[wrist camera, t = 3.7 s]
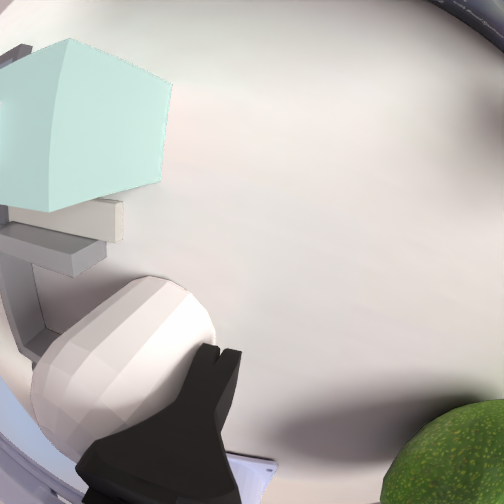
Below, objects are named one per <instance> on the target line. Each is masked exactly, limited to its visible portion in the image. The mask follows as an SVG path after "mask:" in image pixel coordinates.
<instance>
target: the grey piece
mask: <svg viewBox="0 0 504 504" xmlns="http://www.w3.org/2000/svg"><path fill="white" fill-rule="evenodd" d="M8 212H9V222H8V223H5V224H3V225H0V294H1V298H2V302H3V305H4V309H5V312H6V315H7V319H8V322H9V325H10V328H11V331H12V334H13V336H14V339H15V342H16V345H17V347H18V350H19V352H20V353H21V354H23V355H24V356H26V357H27V358H29V359H30V360H32V361H33V362H35V363H38V362H39V360H40V359H41V358H42V356H43V355H44V353H45V352H46V351H47V349H48V348H49V347H50V345H51V344H52V343H53V341H55V340H56V339H57V338H58V337H60V336H61V335H59V334H57V333H55V332H53V331H51V330H49V329H47V328H45V324H44V320H43V317H42V313H41V309H40V304H39V300H38V296H37V291H36V286H35V281H34V276H33V270H32V264H35V265H38V266H40V267H43V268H46V269H49V270H52V271H55V272H58V273H61V274H64V275H67V276H70V277H73V278H75V277H76V276H78V275H79V274H81V273H82V272H84V271H85V270H87V269H88V268H90V267H92V266H93V265H95V264H96V263H98V262H99V261H101V260H103V259H104V258H106V241H107V242H112V243H117V242H119V241H121V240H122V239H123V201H115V200H107V199H98V198H95V199H91V200H88V201H84V202H81V203H78V204H74V205H71V206H68V207H65V208H62V209H59V210H56V211H53V212H50V213H48V212H42V211H37V210H31V209H25V208H19V207H13V206H8ZM31 263H32V264H31Z"/></svg>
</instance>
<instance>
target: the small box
mask: <svg viewBox="0 0 504 504" xmlns="http://www.w3.org/2000/svg"><path fill="white" fill-rule="evenodd" d="M428 1H430V2H432V3H434V4H435V5H437V6H439V7H441V8H442V9H444V10H446V11H447V12H449V13H451V14H452V15H454V16H455V17H457V18H459V19H460V20H462V21H463V22H465V23H466V24H468V25H469V26H470V27H472V28H473V29H475V30H476V31H477V32H479V33H480V34H481V35H483V36H484V37H485V38H487V39H488V40H489V41H491V42H492V43H493V44H494V45H496V46H497V47H498V48H499V49H500V50H502V51H503V52H504V0H428Z"/></svg>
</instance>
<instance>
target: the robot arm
mask: <svg viewBox="0 0 504 504" xmlns="http://www.w3.org/2000/svg"><path fill="white" fill-rule="evenodd" d="M241 354H242V351H237V350H233V349H228V348H226V349H224V350H223V352H222V354H221V355H220V348H219V347H218V346H215V345H211V344H207V343H202V345H201V346H200V347H199V349H198V350H197V352H196V354H195V356H194V358H193V361H192V363H191V366H190V368H189V371H188V373H187V376H186V378H185V381H184V383H183V386H182V388H181V391H180V393H179V395H178V397H177V398H176V400H175V401H174V402H172V403H171V404H170V405H168V406H167V407H165V408H164V409H162V410H161V411H159V412H158V413H156V414H154V415H153V416H151V417H149V418H148V419H146V420H144V421H142V422H140V423H138V424H136V425H134V426H132V427H129V428H127V429H125V430H123V431H120V432H118V433H115V434H112V435H109V436H106V437H103V438H100V439H97V440H95V441H94V442H93V443H92V444H91V445H90V446H89V448H88V449H87V450H86V451H85V452H84V454H83V455H82V457H81V459H80V460H79V462H78V463H77V465H76V467H75V470H76V472H77V474H78V475H79V476H80V477H81V478H82V479H83V481H84V482H86V484H87V485H88V486H89V488H88V490H87V492H86V494H84V493H82V492H80V491H79V490H77V489H75V488H73V487H72V486H70V485H69V484H67V483H65V482H64V481H62V480H61V479H59V478H58V477H56V476H55V475H53V474H52V473H50V472H49V471H47V470H46V469H45V468H43V467H42V466H40V465H39V464H37V463H36V462H35V461H34V460H32V459H31V458H30V457H28V456H27V455H26V454H25V453H24V452H22V451H21V450H20V449H19V448H18V447H16V446H15V445H14V444H13V443H12V442H11V441H9V440H8V439H7V438H6V437H5V436H4V435H3V434H2V433H1V432H0V500H1V501H2V502H3V503H4V504H65V503H64V502H62V501H61V500H59V499H58V497H57V494H58V495H60V496H61V497H63V498H64V499H66V500H68V501H69V502H71V503H72V504H261V497H262V495H263V493H264V491H265V489H266V488H267V486H268V484H269V483H270V481H271V479H272V477H273V475H274V474H275V472H276V470H277V468H278V463H277V462H275V461H269V460H262V459H255V458H249V457H244V456H238V455H233V454H228V453H226V452H225V449H224V445H223V441H222V437H221V430H222V428H223V425H224V423H225V420H226V418H227V415H228V412H229V410H230V407H231V404H232V400H233V396H234V392H235V388H236V384H237V378H238V372H239V366H240V360H241ZM56 493H57V494H56Z"/></svg>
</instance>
